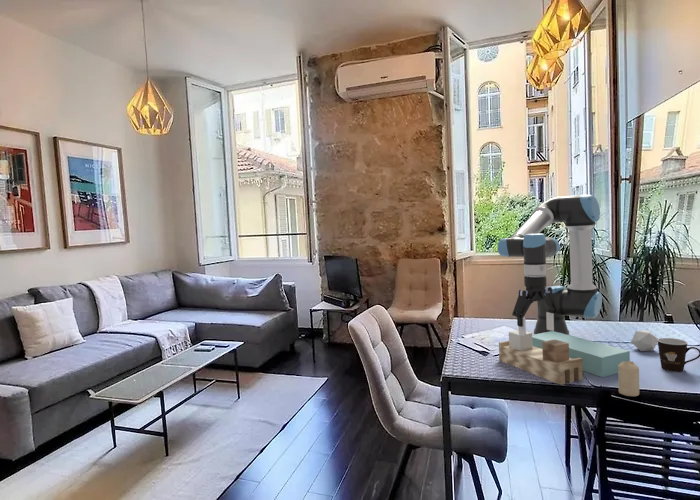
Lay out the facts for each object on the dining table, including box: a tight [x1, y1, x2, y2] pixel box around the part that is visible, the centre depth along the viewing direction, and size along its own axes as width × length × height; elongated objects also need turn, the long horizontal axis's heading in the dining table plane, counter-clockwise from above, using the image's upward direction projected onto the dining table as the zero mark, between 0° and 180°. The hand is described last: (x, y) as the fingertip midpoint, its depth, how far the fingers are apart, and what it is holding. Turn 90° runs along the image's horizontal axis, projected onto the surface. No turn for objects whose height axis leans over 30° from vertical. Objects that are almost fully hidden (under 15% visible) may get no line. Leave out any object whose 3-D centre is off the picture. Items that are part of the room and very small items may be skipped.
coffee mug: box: [657, 337, 700, 373], centre depth 153 cm, size 12×9×10 cm
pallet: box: [498, 340, 584, 386], centre depth 162 cm, size 30×10×8 cm, turn 22°
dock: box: [532, 331, 631, 378], centre depth 169 cm, size 34×14×7 cm, turn 22°
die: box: [630, 329, 659, 352], centre depth 177 cm, size 8×9×10 cm
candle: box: [617, 360, 640, 397], centre depth 137 cm, size 6×6×10 cm
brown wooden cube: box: [542, 339, 569, 363], centre depth 154 cm, size 6×6×6 cm
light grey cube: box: [508, 329, 533, 351], centre depth 169 cm, size 6×6×6 cm
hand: (536, 332), depth 161 cm, fingers open, 13 cm apart
